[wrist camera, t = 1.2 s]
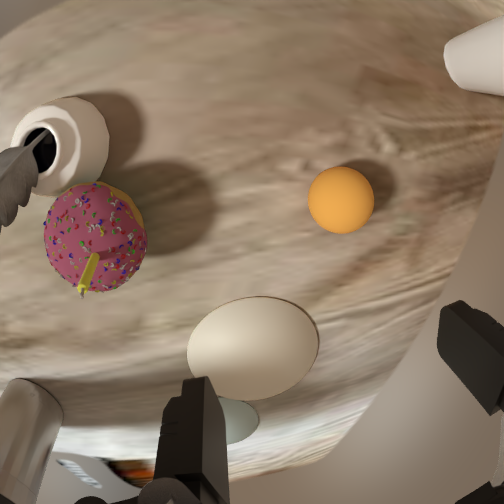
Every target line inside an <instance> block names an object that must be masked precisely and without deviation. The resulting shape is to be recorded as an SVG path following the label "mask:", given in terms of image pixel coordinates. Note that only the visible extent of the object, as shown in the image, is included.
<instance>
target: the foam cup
mask: <svg viewBox="0 0 504 504" xmlns="http://www.w3.org/2000/svg"><path fill="white" fill-rule="evenodd" d="M444 60H445V65H446V68H447V70H448V72H449V74H450V76H451V78H452V79H453V81H454V82H455V83H456V84H457V85H458V86H459V87H461V88H463V89H465V90H467V91H473V92H481V93H488V94H494V95H500V96H504V15H502V16H499V17H497V18H495V19H493V20H490V21H488V22H486V23H484V24H482V25H479V26H477V27H475V28H473V29H471V30H469V31H467V32H465V33H463V34H461V35H459V36H457V37H455V38H453V39H452V40H450V41H449V42H448V43H447V44H446V45H445V49H444Z"/></svg>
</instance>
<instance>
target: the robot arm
mask: <svg viewBox="0 0 504 504" xmlns="http://www.w3.org/2000/svg"><path fill="white" fill-rule="evenodd" d="M437 348H438V352H439V354H440V356H441V358H442V359H443V360H444V361H445V362H446V364H447V365H448V366H449V367H450V368H451V369H452V371H453V372H454V373H455V374H456V375H457V376H458V378H459V379H460V380H461V381H462V382H463V384H464V385H465V386H466V387H467V388H468V389H469V391H470V392H471V393H472V394H473V396H474V397H475V398H476V399H477V400H478V402H479V403H480V404H481V405H482V407H483V408H484V409H485V410H486V412H487V413H488V414H489V415H490V416H491V415H492V414H494V413H496V412H497V411H498V410H500V409H501V410H502V411H503V412H504V327H503V326H502V325H501V324H500V323H497V321H496V320H495V319H493V318H492V317H491V316H490V315H488V314H487V313H485V312H482V311H480V310H477V309H473V308H471V307H470V306H469V305H468V304H466V303H465V302H464V301H462V300H459V301H456V302H454V303H452V304H449V305H447V306H444V307H443V308H442V309H441V311H440V320H439V329H438V337H437ZM63 417H64V416H63V411H62V409H61V407H60V405H59V404H58V402H57V401H56V400H55V399H54V398H53V397H52V396H51V395H50V394H49V393H48V392H47V391H45V390H44V389H43V388H41V387H40V386H38V385H36V384H34V383H32V382H30V381H27V380H23V379H14V380H12V381H10V383H9V384H8V385H7V387H6V389H5V390H4V392H3V394H2V396H1V397H0V504H36V501H37V496H38V493H39V489H40V486H41V483H42V479H43V476H44V473H45V470H46V467H47V463H48V460H49V457H50V454H51V451H52V449H53V446H54V443H55V440H56V437H57V435H58V432H59V429H60V426H61V424H62V421H63ZM75 504H108V503H106V502H105V501H104V500H102V499H101V498H98V497H94V496H89V497H84V498H81V499H80V500H78V501H77V502H76V503H75ZM111 504H230V498H229V481H228V463H227V442H226V422H225V416H224V412H223V409H222V406H221V404H220V402H219V399H218V397H217V395H216V393H215V390H214V388H213V386H212V384H211V381H210V379H209V377H208V376H202V377H197V378H191V379H185V380H184V381H183V385H182V393H181V396H179V397H172V398H171V399H170V401H169V402H168V404H167V406H166V407H165V409H164V411H163V417H162V426H161V429H160V437H159V443H158V450H157V457H156V464H155V471H154V477H153V480H152V481H151V482H149V483H148V484H146V485H145V486H144V487H143V488H142V490H141V491H140V493H139V496H137V497H134V498H131V499H127V500H123V501H119V502H115V503H111ZM455 504H504V413H503V415H502V419H501V440H500V452H499V462H498V466H497V469H496V472H495V474H494V477H493V479H492V483H490V482H489V481H488V482H487V483H485V484H484V485H483V486H481V487H479V488H478V489H476V490H475V491H473V492H471V493H470V494H468V495H467V496H465V497H463V498H462V499H460V500H458V501H457V502H456V503H455Z"/></svg>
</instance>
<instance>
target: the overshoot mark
mask: <svg viewBox="0 0 504 504" xmlns="http://www.w3.org/2000/svg"><path fill="white" fill-rule="evenodd" d="M218 399H219V402H220V404H221V406H222V409H223V412H224V416H225V422H226V442H227V445H228V444H233V443H236V442H239V441H242V440H244V439H245V438H247V437H249V436H250V435H251V434H252V433H253V432H254V431H255V430H256V428H257V426H258V415H257V413H256V411H255V410H254V408H252V407H251V406H250V405H249V404H247V403H245V402H243V401H241V400H233V399H228V398H224V397H218Z"/></svg>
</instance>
